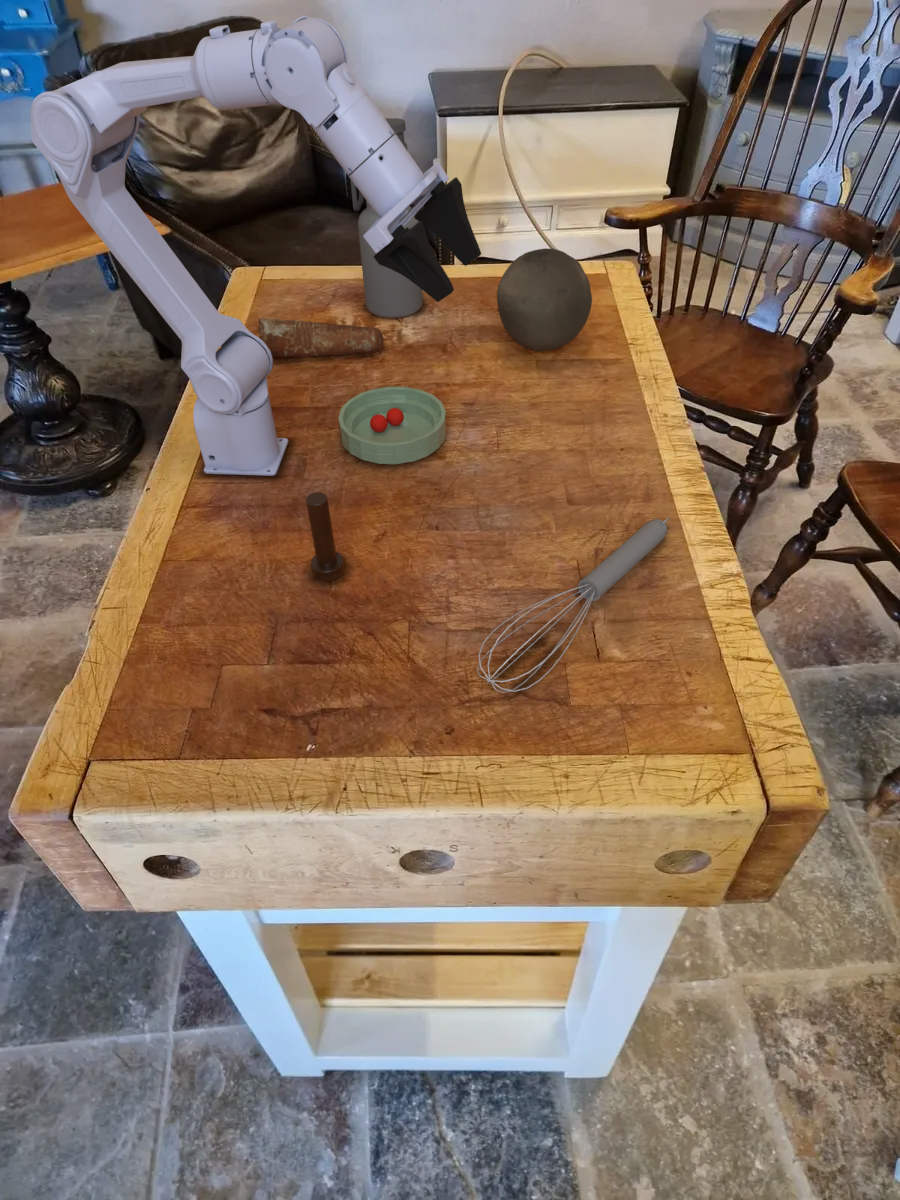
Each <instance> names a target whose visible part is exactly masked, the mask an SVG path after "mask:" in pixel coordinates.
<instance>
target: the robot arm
mask: <svg viewBox="0 0 900 1200" xmlns="http://www.w3.org/2000/svg"><path fill="white" fill-rule="evenodd" d="M347 61H348V57H347V50H346V46H345V43H344V41H343V39H342V37H341V34H340V33H339V32H338V30H337V29H336V28H335V27H334V26H333V25H332V24H330V22H328V21H326V20H325V19H321V18H318V17H308V16H305V15H302V16H301V17H299V18H297V19H295V21H293V22H292V24H290V25H288V26H285V27H284V28H280V27H279V26H278V23H277V21H276V20H275V19H272V20H266V21H263V22H261V23H260V28H257V29H250V30H249V29H248V30H243V31H242V30H241V31H237V32H231V30H230V27H229V25H228V24H225V25H218V26H214V27H212V28H211V29H209V36H204V37H203V38H202V39H201V40H200V41H199V43H198V44H197V46H196V49H195V51H194V53H193V55H191V56H190V55H188V56H177V57H176V56H175V57H167V58H166V57H165V58H155V59H144V60H133V61H131V60H130V61H122V62H118V63H116V64H114V65H112V66H109V67H106V68H104V69H101V70H96V71H93V72H91V73H89V74H87V75H86V76H85V77H83V78H79V79H78V80H75V81H73V82H71V83H69V84H65V85H64V86H61V87H59V88H57V89H54V90H50V91H43V92H41V93H40V94H38V95H37V96H36V97H34V99H33V101H32V104H31V107H30V130H31V142H32V143H33V144H34V146H35V147H36V148H37V150H38V152H40V154H41V155H42V156H43V157H44V159H45V160H46V161H47V162H48V164H49V165H50V166H51V168H52V169H53V170H54V171H55V172H56V174H57V176H58V178H59V180H60V182H61V184H62V187H63V189H64V191H65V193H66V195H67V197H68V198H69V200H70V201H71V203H72V204H73V206H74V207H75V209H77V211H78V212H79V214H81V216H82V217H83V218H84V220H85V221H86V223H88V225H89V226H90V228H91V229H92V230H93V231H94V232H95V234H96V235H97V236H98V237H99V239H100V240H101V241H102V242H103V244H104V245H105V246H106V248H108V250H109V251H110V252H111V254H112V255H113V256H114V257H115V259H116V260H117V262H119V264H120V265H121V267H122V268H123V269H124V270H125V271H126V273H127V274H128V275H129V276H130V278H131V279H132V280H133V282H134V283H135V284H136V285H137V286H138V288H139V289H140V291H141V292H142V293H143V294H144V295H145V297H146V298H147V299H148V301H149V302H150V303H151V304H152V305H153V307H154V308H155V309H156V311H157V312H158V313H159V314H160V316H161V317H162V318H163V319H164V321H165V322H166V323H167V324H168V326H169V327H170V328H171V329H172V331H173V332H174V333H175V334H176V336H177V337H178V339H180V341H181V357H180V368H181V370H182V371H183V372H184V373H185V375H186V376H187V377H188V380H189V382H190V383H191V386H192V388H193V392H194V394H195V396H196V397H197V398H196V400H195V403H194V407H193V417H192V418H193V427H194V431H195V435H196V439H197V442H198V445H199V449H200V452H201V456H202V459H203V463H204V468H203V472H204V474H207V475H209V474H210V475H241V476H267V477H274V476H277V473H278V471H279V468H280V465H281V463H282V460H283V458H284V455H285V453H286V450H287V447H288V444H289V439H288V438H286V437H278V434H277V429H276V425H275V420H274V414H273V409H272V405H271V399H270V394H269V389H268V386H269V383H268V379H267V377H268V376H269V375H270V374H271V372H272V371H273V367H274V359H273V358H274V357H273V356H272V355H271V352H270V350H269V348H268V347H267V345H266V344H265V343H264V342H263V341H262V340H261V339H260V336H258V335H256V334H254V333H252V332H251V331H250V330H249V329H248V328H247V327H246V325H244V323H243V321H242V320H241V319H239V318H237V317H233V316H229V315H225V314H222V313H220V312H219V311H218V310H217V308H216V307H215V306H214V304H213V303H212V301H211V300H210V299H209V298H208V296H207V295H206V293H205V292H204V291H203V290H202V288H201V287H200V285H199V284H198V283H197V282H196V280H195V279H194V278H193V275H191V274H190V272H189V271H188V270H187V268H186V267H185V266H184V264H183V263H182V261H181V260H180V259H179V258H178V257H177V255H176V253H175V252H174V251H173V250H172V248H171V247H170V246H169V245H168V243H167V241H166V240H165V238H164V237H163V236H162V235H161V234H160V232H159V231H158V229H157V228H156V227H155V225H154V224H153V223H152V222H151V220H150V219H149V217H148V215H146V214H145V212H144V211H143V209H142V208H141V206H140V205H139V204H138V203H137V202H136V200H135V199H134V197H133V196H132V195H131V194H130V192H129V191H128V190H127V188H126V184H125V182H126V166H127V161H128V159H129V156H130V153H131V150H132V147H133V145H134V142H135V140H136V137H137V134H138V132H139V128H140V122H141V114H143V113H146V111H147V110H148V107H151V106H159V105H163V104H169V103H174V102H181V101H186V100H187V101H188V100H192V99H197V98H204V99H205V100H206V101H207V102H208V103H209V104H210V105H211V106H212V107H213V108H215V109H216V110H219V111H230V110H239V109H249V108H255V107H257V108H258V107H265V106H266V107H267V106H273V105H281V106H283V107H284V108H287V109H289V110H294V111H296V112H298V113H299V114H300V115H301V116H302V117H303V119H304V120H305V121H306V123H307V125H309V126H310V127H311V128H312V129H313V131H314V132H315V133H316V135H317V136H318V137H319V138H320V140H321V141H322V143H323V144H324V145H325V146H326V148H327V150H328V151H329V152H330V153H331V155H332V156H333V157H334V159H335V160H336V162H337V163H338V164H339V165H340V167H341V169H343V171H344V172H345V173H346V175H347V176H348V177H349V179H350V181H351V180H352V182H353V183H354V184H355V186H356V189H358V192H359V191H360V192H361V193H362V195H363V196H364V200H365V201H366V200H367V202H368V203H369V204H370V206H371V207H372V208H373V210H374V211H375V212H376V214H377V215H378V216H379V218H378V219H377V220H376V221H375V222H374V224H373V225H372V226H371V227H370V229H369V230H368V231H367V232H366V233H365V234H364V235H363V237H364V238H365V240H366V241H367V242H368V244H369V245H370V246H371V248H372V249H373V250H374V251H375V253H376V254H375V255H374V258H375V260H376V261H377V262H378V264H379V265H382V266H384V267H387V268H389V269H392V270H394V271H396V272H397V273H399V274H401V275H403V276H404V277H406V278H408V279H409V280H410V281H412V282H413V283H414V284H416V285H417V286H418V287H420V288H421V289H422V291H423V292H424V293H426V294H427V295H428V296H429V297H431V298H432V299H433V300H434V301H435V302H437V303H439V302H441V301H442V300H444V299H445V298H447V297H448V296H450V295H451V294H453V292H454V290H455V288H454V285H453V283H452V281H451V279H450V278H449V276H448V274H447V272H446V271H445V269H444V267H443V266H442V265H441V263H440V261H439V260H438V258H437V257H436V254H435V252H434V250H433V248H432V246H431V244H430V241H429V238H428V236H427V232H426V229H425V227H426V228H428V229H429V230H430V231H432V232H433V234H435V235H436V237H438V238H439V239H440V240H441V241H442V242H443V243H444V245H445V246H446V247H447V248H448V249H449V251H450V252H451V253H452V254H453V256H454V257H455V258H456V259H457V260H458V261H459V262H460V263H461V264H463V265H464V266H465V267H466V266H468V265H469V264H471V263H472V262H474V261H475V260H477V259H478V258H479V257H480V256H481V255H482V251H481V248H480V245H479V243H478V240H477V238H476V236H475V233H474V231H473V229H472V226H471V223H470V220H469V217H468V214H467V209H466V206H465V201H464V194H463V187H462V183H461V181H460V179H459V178H458V177H457V176H455V177H454V178H453V179H451V180H450V177H449V176H448V173H446V171H445V170H444V168H443V167H442V165H441V164H440V163H439V162H438V161H437V162H435V163H434V164H433V165H431V167H429V168H428V169H427V170H425V172H424V173H423V171H422V170H421V169H420V167H419V166H418V164H417V162H416V161H415V159H414V158H413V157H412V155H411V154H410V153H409V151H408V149H407V150H406V148H405V147H404V145H403V144H402V142H401V141H400V140H399V138H398V137H397V135H396V134H395V135H394V136H393V137H391V136H392V135H393V134H394V133H395V132H394V131H393V129H392V128H391V127H390V125H389V124H388V122H387V121H386V119H385V116H384V115H383V114H382V113H381V111H380V109H379V108H378V107H377V105H376V103H375V102H374V100H372V98H371V96H370V95H369V94H368V92H367V91H366V89H365V88H364V87H363V85H362V84H361V82H360V81H359V80H358V78H357V77H356V76H355V74H354V73H353V71H352V70H351V68H350V67H349V65H348V62H347ZM390 137H391V138H390ZM389 138H390V139H389ZM388 139H389V140H388ZM387 140H388V141H387ZM386 141H387V142H386ZM356 168H358V169H357V170H355V169H356ZM354 170H355V171H354ZM353 171H354V172H353ZM449 180H450V181H449ZM448 181H449V182H448ZM447 182H448V183H447ZM416 202H417V203H416ZM414 203H415V205H414ZM411 205H413V207H411V208H412V209H411V210H410V211H409V212H408V210H407V209H406V208H407V207H408V206H411ZM416 213H417V214H416ZM415 214H416V215H415ZM404 215H405V216H404ZM414 215H415V216H414ZM403 216H404V217H403ZM413 216H414V217H415V219H416V220H418V221H419V222H418V223H417V224H416V225H414V226H413V227H412V228H411V229H409V228H408V227H407V228H406V229H405V228H404V225H405V224H406V223H407V222H408V221H409V220H410V219H411V218H412V217H413ZM402 217H403V219H402V220H401V221H399V220H400V219H401V218H402Z"/></svg>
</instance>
